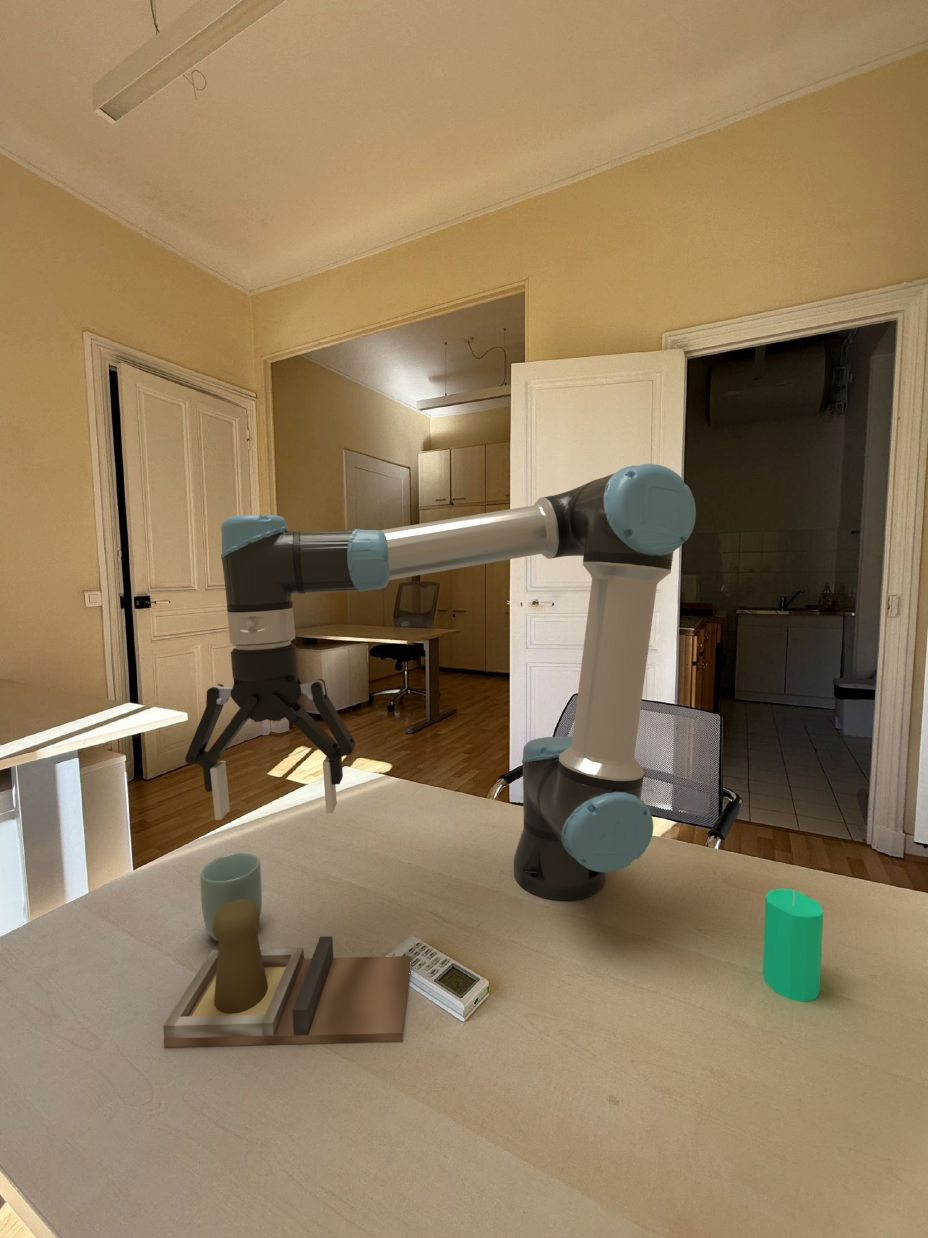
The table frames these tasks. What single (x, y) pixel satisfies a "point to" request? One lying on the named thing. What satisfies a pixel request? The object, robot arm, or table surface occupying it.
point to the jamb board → (343, 1005)
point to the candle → (792, 944)
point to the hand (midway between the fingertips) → (277, 812)
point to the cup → (229, 884)
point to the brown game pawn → (238, 958)
